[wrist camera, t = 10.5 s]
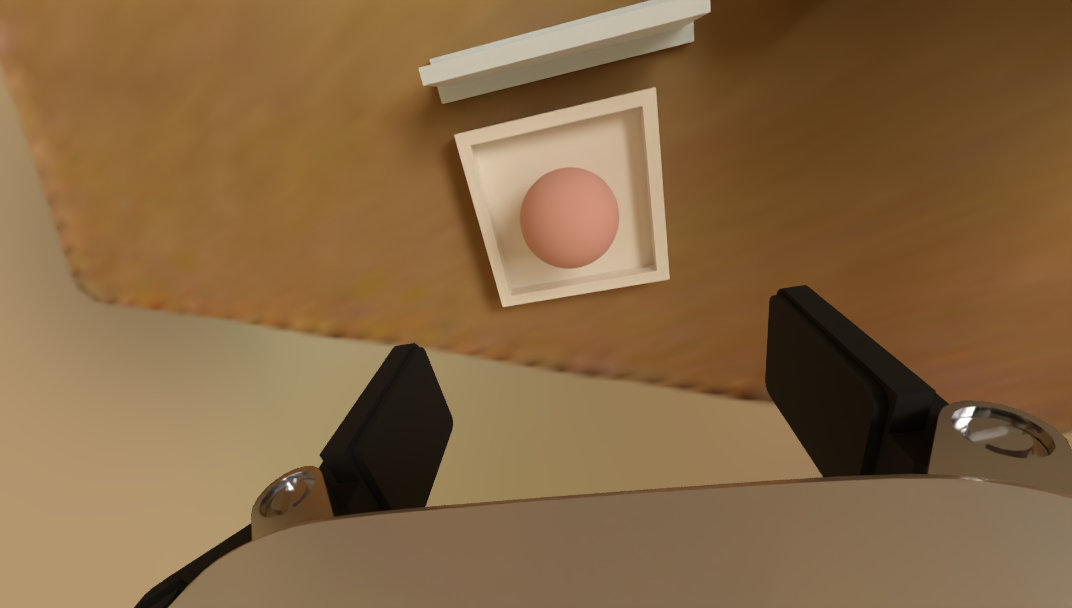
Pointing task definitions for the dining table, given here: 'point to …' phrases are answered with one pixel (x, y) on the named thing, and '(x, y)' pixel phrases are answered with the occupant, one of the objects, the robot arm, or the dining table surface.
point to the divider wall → (564, 48)
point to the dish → (581, 142)
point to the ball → (569, 217)
